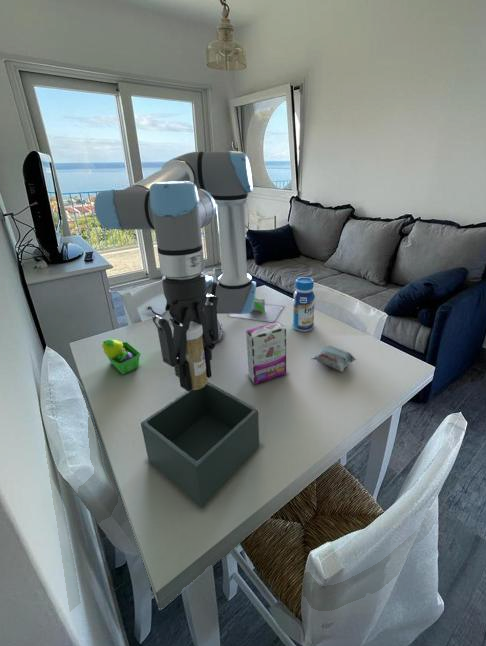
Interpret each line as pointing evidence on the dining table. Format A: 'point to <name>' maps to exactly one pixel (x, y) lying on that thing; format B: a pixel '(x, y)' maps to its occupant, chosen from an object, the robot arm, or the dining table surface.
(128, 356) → the fruit basket
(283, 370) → the candy bar box
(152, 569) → the dining table surface
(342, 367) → the packaged food
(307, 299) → the beverage bottle
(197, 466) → the grey storage bin
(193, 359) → the sprinkles bottle
